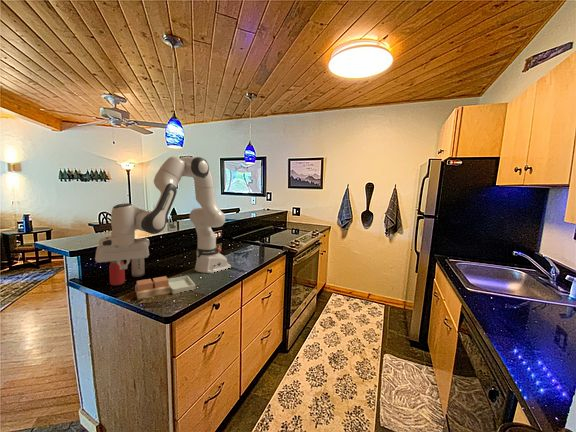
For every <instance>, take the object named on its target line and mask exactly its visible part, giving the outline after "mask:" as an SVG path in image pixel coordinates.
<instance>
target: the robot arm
mask: <svg viewBox="0 0 576 432" xmlns="http://www.w3.org/2000/svg"><path fill="white" fill-rule="evenodd" d="M182 177H188V178H193V183H194V193H195V200H196V202H197V203H198V204H199V205H200V207H197V208H196V207H195V208H193V209H192V210H191V211H190V213H189V220H190V222H191V223H192V224H193V226H194V228H195V231H196V235H197V236H196V237H197V247H196V262H195V266H194V271H196V272H198V273H207V274H215V273H217V271H218V272H222V271H226V270H229V269H228V268H230V269H231V268H232V266H231V264H230V263H228V259H227V257H226V256H225V255H223V254H221V252H222V249H221V247H217V236H216V233H215V232H214V231H213V229H212V228H220V227H222V226H223V225H224V224H225V222H226V215H225V213H224V212H223V211H222V210H221V209H220V207H219V205H218V203H217V200H216V195H215V194H216V193H215V187H214V180H213V176H212V173H211V171H210V166H209V162H208V161H207V160H206V159H205V158H204V157H200V156H196V157H195V156H187V157H177V156H171V157H170V156H169V157H168V158H167V159H166V160H165V161H164V162H163V164H162V165H160V167H159V169H158V170H157V172H156V173H155V175H154V179H153V184H154V186H155V188H156V189H157V190H158V191H159V192H160V196H159V199H158V200H157V203H156V205H155V207H154V209H152V210H151V211H149V210H144V209H142V208H139V207H137V206H135V205H133V204H132V203H127V202H126V203H119V204H116V205H114V206H113V207H112V209H111V215H110V225H111V232H110V235H108V236H106V237H102V238H100V239H99V240H98V245H97V247H96V249H95V250H96V251H95V260H94V261H95V262H96V263H108V262H109V263H110V262H111V261H117V264H118V265H119V266H120V270H122V269H125V270H128V266H129V264H130V262H131V260H132V259H138V258H144V259H145V258H146V259H147V258H148V257H149V256H150V251H149V246H150V240H149V239H148V238H144V237H142V238H135V237H136V235H135V234H136V233H135V232H136V231H137V230H139V231H142V232H146V233H147V234H148V233H149V234H151V235H156V234H159V233H161V232H162V231H163V230H164V229H165V227H166V226H167V225H166V224H167V221H168V220H167V219H168V215H169V212H170V211H171V208H172V205H173V203H174V201H175V198H176V195H177V194H178V193H177V192H178V189H177V188H178V185H179V183H180V181H181V179H182ZM121 260H123V261H125V260H126V263H124V264H125V265H121V264H120V262H121ZM225 269H226V270H225ZM221 270H222V271H221ZM214 272H215V273H214Z"/></svg>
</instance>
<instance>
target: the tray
mask: <svg viewBox="0 0 576 432" xmlns="http://www.w3.org/2000/svg"><path fill="white" fill-rule="evenodd" d="M168 280H169V285H170V287H171V293H170V294H172V295H178V294H181V293H180V292H182V293H185V292H184V291H187V292H190V291H189V290H192V291H195V290H194V289H197V286H196V284H195V282H194V281H193V280H192V279H191V278H190V277H189V275H184V276H177V277H171V278H168ZM177 293H178V294H177Z"/></svg>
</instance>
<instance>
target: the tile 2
mask: <svg viewBox="0 0 576 432" xmlns="http://www.w3.org/2000/svg"><path fill="white" fill-rule="evenodd" d="M168 279H169V278H168V277H167V275H164V276H159V277H154V278H152V282H153V285H154V287H155V288H159V287H164V286H169V280H168Z"/></svg>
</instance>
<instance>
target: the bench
mask: <svg viewBox="0 0 576 432" xmlns="http://www.w3.org/2000/svg"><path fill="white" fill-rule="evenodd" d="M134 292H135V295H136V299H137V301H138V300H139V301H140V300H143V299H144V300H145V299H148V298H155V297H158V296H163V295H168V294H172V293H171V287H170V285H169V286H164V287H159V288H155V287H154V285H153V289H148V290H143V291H138V289H137V284H135V285H134Z"/></svg>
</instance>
